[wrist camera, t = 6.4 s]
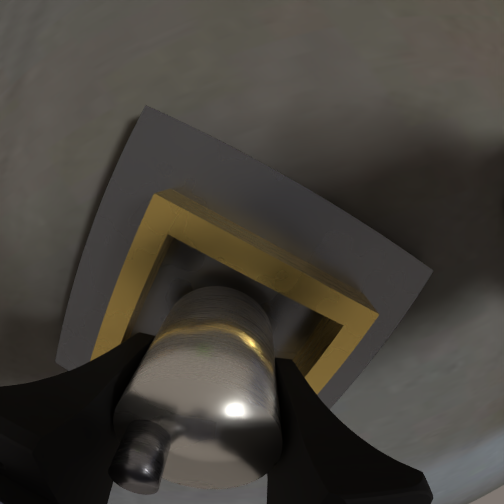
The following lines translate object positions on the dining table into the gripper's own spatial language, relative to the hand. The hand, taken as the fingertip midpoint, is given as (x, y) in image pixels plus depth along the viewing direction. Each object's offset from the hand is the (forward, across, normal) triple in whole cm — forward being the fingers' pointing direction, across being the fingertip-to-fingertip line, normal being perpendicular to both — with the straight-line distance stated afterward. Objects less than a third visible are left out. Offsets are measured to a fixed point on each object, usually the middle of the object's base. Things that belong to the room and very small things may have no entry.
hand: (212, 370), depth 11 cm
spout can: (+2, 0, 0) cm, 2 cm away
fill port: (+4, 0, 0) cm, 4 cm away
